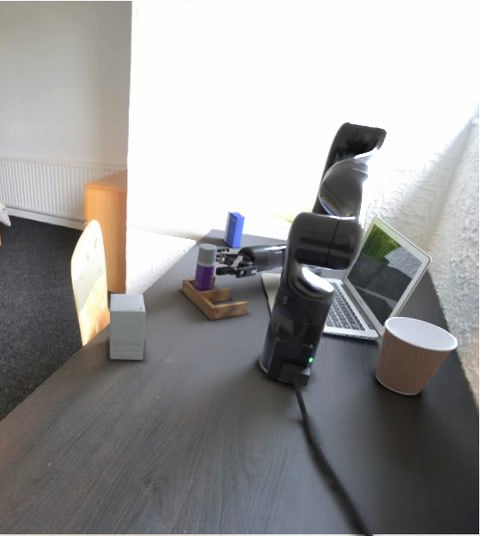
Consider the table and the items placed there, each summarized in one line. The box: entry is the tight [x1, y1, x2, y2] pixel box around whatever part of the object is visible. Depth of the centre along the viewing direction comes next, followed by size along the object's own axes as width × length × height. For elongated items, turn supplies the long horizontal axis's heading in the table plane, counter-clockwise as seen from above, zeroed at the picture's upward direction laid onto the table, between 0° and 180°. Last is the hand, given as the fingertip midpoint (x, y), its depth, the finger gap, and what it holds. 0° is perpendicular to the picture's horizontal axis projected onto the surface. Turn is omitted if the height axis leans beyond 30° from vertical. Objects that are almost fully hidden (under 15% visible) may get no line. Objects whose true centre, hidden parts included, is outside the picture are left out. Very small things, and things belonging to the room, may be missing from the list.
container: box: [194, 243, 218, 292], centre depth 102 cm, size 5×5×15 cm
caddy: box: [181, 275, 249, 321], centre depth 102 cm, size 10×16×4 cm, turn 13°
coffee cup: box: [375, 316, 459, 396], centre depth 71 cm, size 10×10×12 cm
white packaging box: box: [109, 293, 146, 361], centre depth 82 cm, size 7×7×13 cm
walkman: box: [223, 210, 246, 249], centre depth 137 cm, size 8×3×12 cm, turn 3°
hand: (207, 265), depth 102 cm, fingers open, 8 cm apart
